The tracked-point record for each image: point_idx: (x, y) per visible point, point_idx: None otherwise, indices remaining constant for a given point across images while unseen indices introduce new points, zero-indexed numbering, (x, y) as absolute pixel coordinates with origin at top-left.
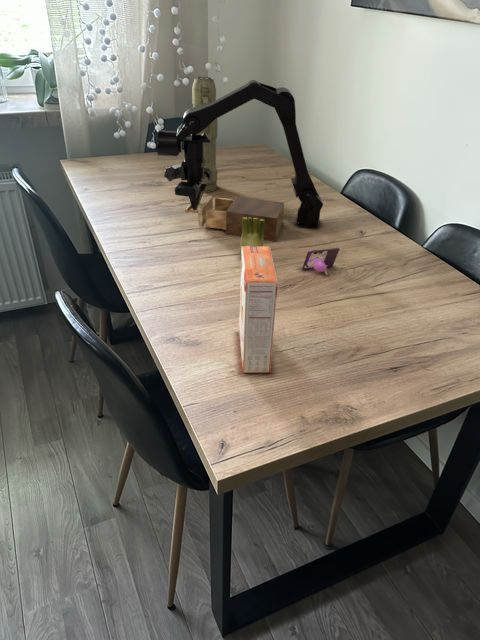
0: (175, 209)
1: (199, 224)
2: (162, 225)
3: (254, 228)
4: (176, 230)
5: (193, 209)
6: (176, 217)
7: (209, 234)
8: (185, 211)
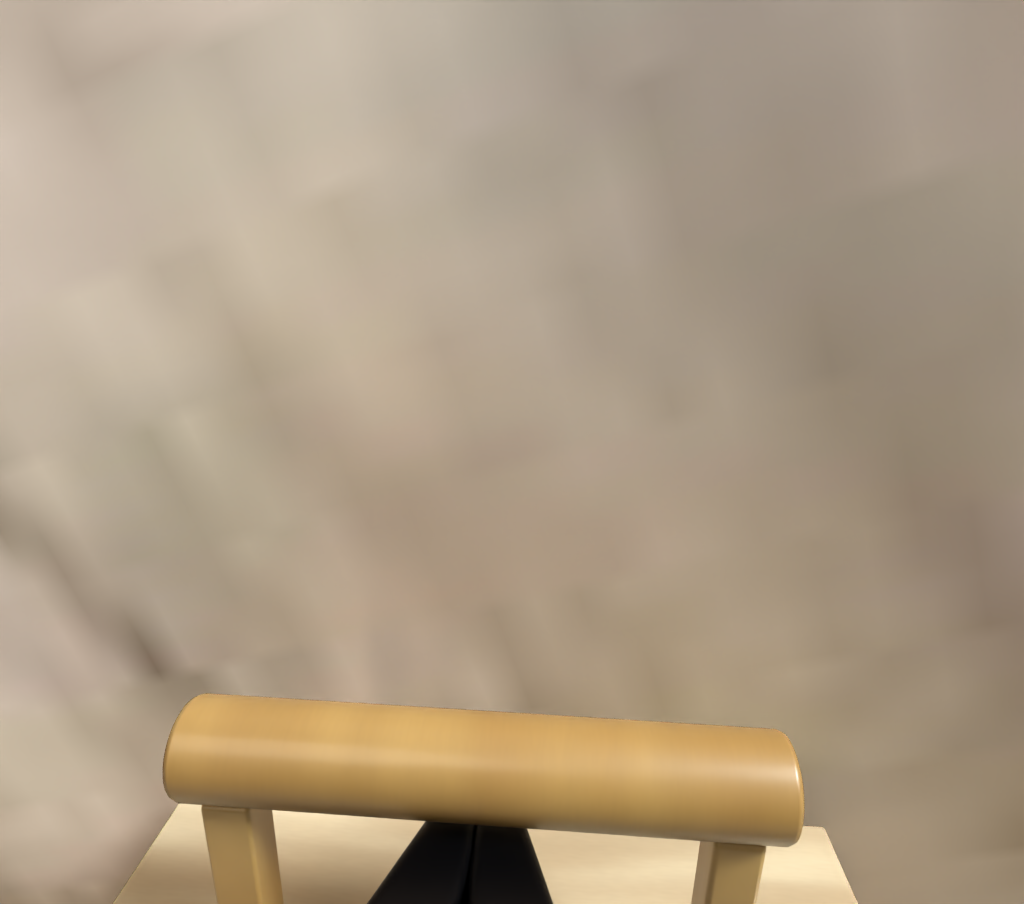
0: (996, 138)
1: (172, 832)
2: (66, 159)
3: None
4: (11, 473)
5: None
6: (543, 305)
7: None
8: (190, 701)
